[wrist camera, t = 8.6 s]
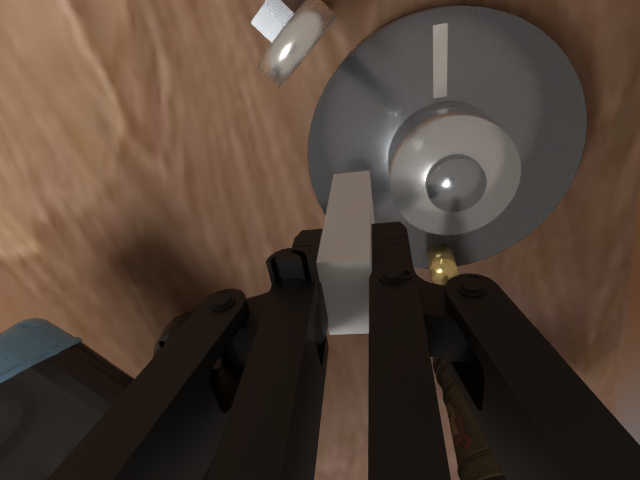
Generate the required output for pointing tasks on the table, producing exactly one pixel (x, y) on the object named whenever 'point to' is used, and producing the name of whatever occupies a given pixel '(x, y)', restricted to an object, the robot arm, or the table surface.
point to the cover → (452, 168)
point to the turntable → (464, 86)
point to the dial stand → (290, 34)
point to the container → (466, 432)
